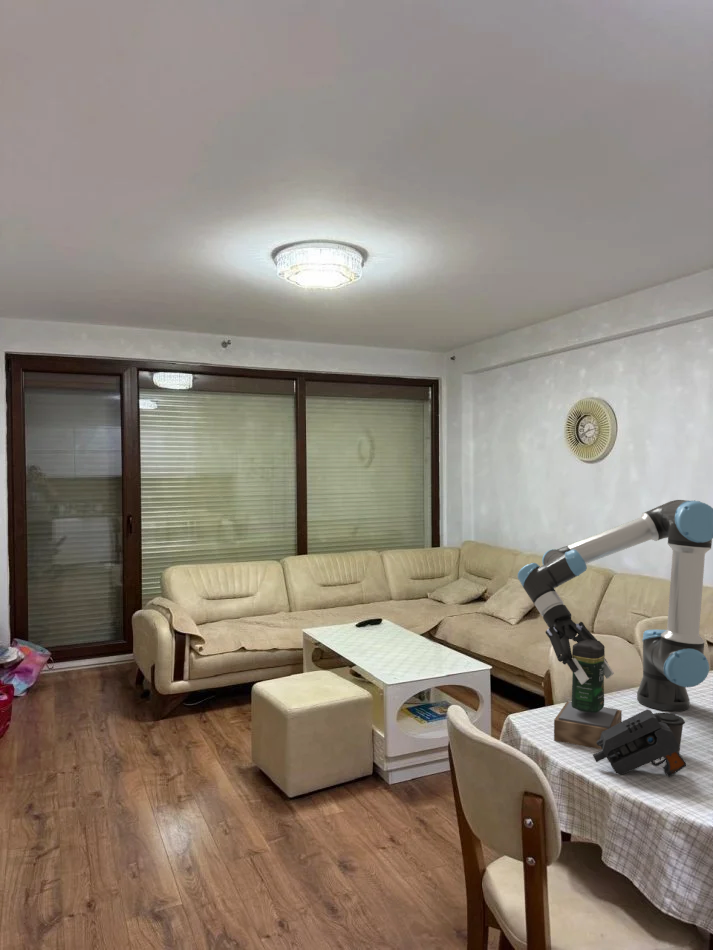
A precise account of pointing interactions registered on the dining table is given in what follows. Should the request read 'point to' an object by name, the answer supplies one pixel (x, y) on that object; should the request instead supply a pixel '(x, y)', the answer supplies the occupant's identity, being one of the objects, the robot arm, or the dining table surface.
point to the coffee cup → (673, 725)
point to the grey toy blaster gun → (640, 744)
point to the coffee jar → (589, 676)
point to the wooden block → (584, 725)
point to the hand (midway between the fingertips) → (597, 678)
